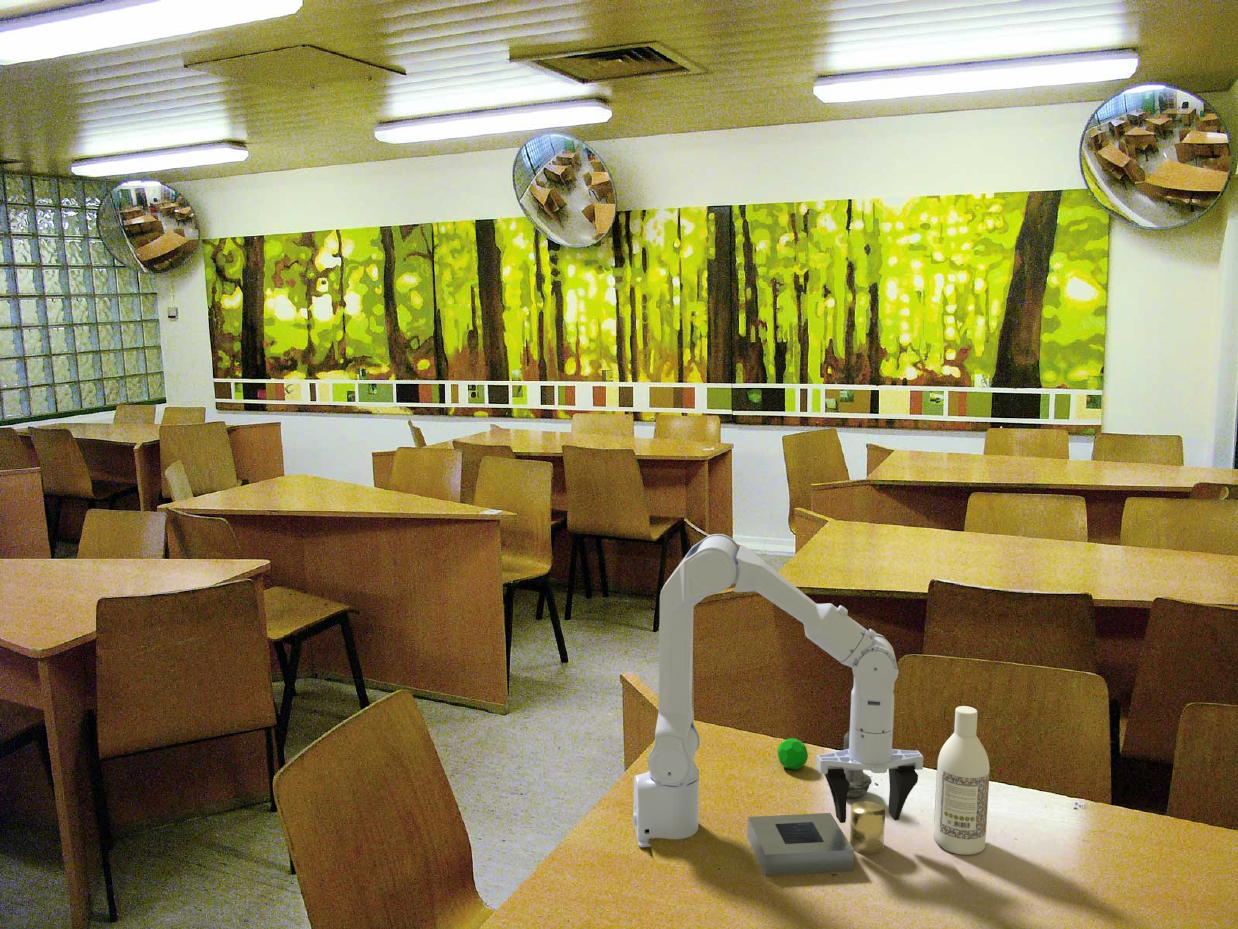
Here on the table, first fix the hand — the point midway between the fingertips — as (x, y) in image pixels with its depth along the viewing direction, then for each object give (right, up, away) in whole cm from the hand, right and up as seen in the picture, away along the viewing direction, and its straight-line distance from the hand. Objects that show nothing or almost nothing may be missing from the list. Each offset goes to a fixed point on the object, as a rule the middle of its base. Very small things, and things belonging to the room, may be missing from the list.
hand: (867, 818), depth 137 cm
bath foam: (+14, -5, +3) cm, 15 cm away
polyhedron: (-6, -1, +27) cm, 28 cm away
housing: (-10, -5, -1) cm, 11 cm away
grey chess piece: (+2, -3, +16) cm, 16 cm away
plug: (0, -5, +1) cm, 5 cm away
